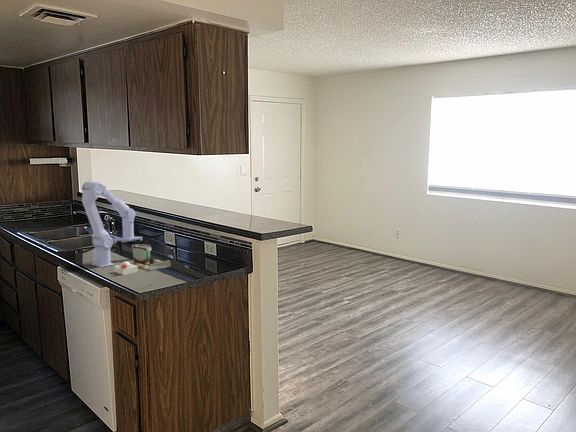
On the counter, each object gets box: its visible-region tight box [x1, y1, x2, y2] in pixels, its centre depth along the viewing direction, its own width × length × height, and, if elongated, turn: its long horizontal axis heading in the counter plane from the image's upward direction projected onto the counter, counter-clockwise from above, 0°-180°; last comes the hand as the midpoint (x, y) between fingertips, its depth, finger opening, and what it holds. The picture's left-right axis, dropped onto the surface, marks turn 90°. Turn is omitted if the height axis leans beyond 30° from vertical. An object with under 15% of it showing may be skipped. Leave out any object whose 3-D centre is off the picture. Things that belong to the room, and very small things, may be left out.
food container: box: [131, 243, 152, 266], centre depth 255 cm, size 12×6×10 cm, turn 57°
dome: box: [120, 260, 132, 268], centre depth 238 cm, size 5×5×5 cm
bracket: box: [134, 259, 172, 271], centre depth 251 cm, size 14×12×3 cm
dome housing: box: [113, 263, 139, 276], centre depth 238 cm, size 8×8×5 cm
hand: (128, 254), depth 264 cm, fingers open, 7 cm apart
